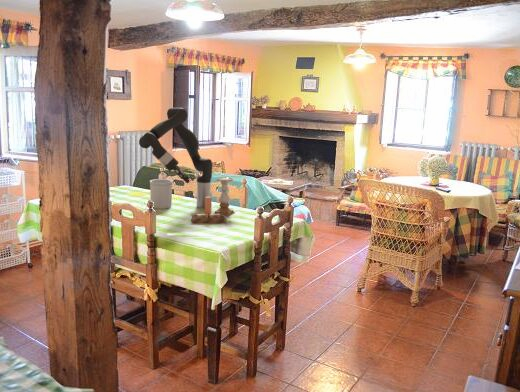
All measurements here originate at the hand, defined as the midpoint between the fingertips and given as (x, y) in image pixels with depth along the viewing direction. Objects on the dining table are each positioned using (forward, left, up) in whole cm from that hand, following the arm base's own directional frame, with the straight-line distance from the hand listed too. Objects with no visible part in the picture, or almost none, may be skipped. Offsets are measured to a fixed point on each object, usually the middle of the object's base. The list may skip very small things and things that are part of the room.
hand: (188, 181), depth 272 cm
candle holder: (-28, +2, -25) cm, 38 cm away
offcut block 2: (-9, +13, -24) cm, 28 cm away
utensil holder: (-14, -44, -25) cm, 53 cm away
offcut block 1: (-4, +8, -24) cm, 25 cm away
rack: (-7, +10, -25) cm, 28 cm away
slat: (-9, +7, -24) cm, 26 cm away
